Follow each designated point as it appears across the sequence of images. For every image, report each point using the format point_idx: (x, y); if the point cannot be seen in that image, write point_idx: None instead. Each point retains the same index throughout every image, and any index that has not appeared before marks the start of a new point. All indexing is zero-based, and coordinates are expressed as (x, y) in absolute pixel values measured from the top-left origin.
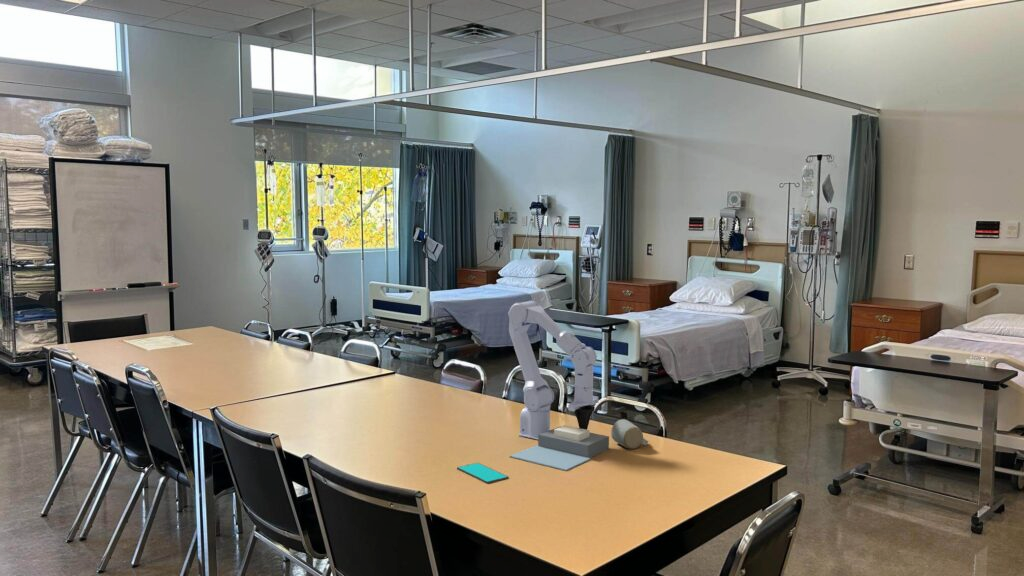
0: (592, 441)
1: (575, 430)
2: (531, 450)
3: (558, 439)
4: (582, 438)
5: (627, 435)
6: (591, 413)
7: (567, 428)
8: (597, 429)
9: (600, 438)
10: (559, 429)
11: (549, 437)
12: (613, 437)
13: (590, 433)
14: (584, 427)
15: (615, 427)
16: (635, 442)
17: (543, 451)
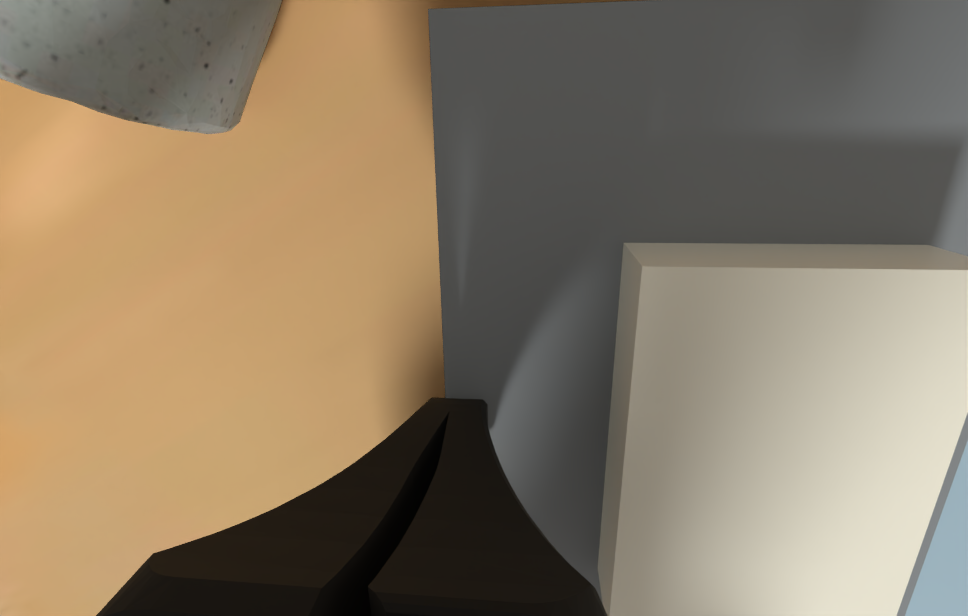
0: (848, 61)
1: (780, 432)
2: (965, 587)
3: (945, 490)
4: (830, 248)
5: None
6: (293, 519)
7: (736, 559)
8: (48, 462)
9: (613, 55)
10: (848, 613)
11: (905, 595)
12: (249, 87)
13: (478, 310)
14: (487, 425)
15: (143, 25)
16: None
17: (946, 503)
